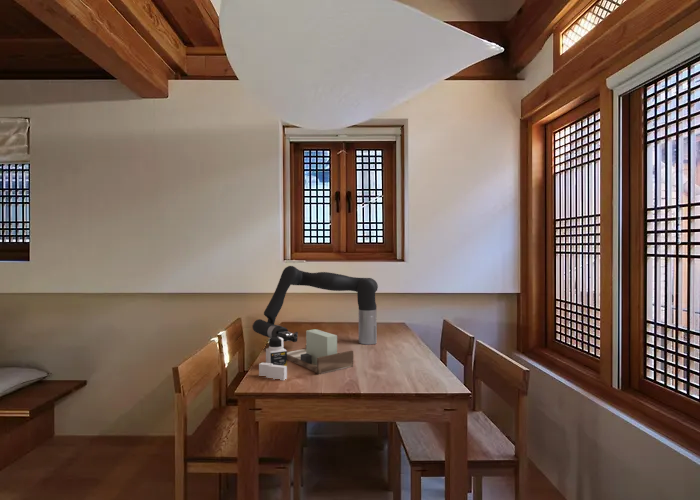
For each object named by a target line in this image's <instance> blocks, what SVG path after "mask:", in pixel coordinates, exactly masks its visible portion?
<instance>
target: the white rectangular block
mask: <svg viewBox="0 0 700 500" xmlns="http://www.w3.org/2000/svg"><path fill="white" fill-rule="evenodd" d="M259 376H266V377H265V378H267V379H268V378H273V379H272V380H275V379H280V380H279V381H286V380H287V379H288V365H287V366H282V365H273V364H272V363H266V362H261V363H260V362H259V364H258V377H259ZM285 379H286V380H285Z"/></svg>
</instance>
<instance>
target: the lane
mask: <svg viewBox="0 0 700 500" xmlns="http://www.w3.org/2000/svg"><path fill="white" fill-rule="evenodd" d="M301 354H306V348H302V349H296V350H292V351H287V361H290V362H292V363H294V364H296V365H298V366H301V367H303V368H305V369H308V370H310V371H312V372H314V373H315V374H317V375H318V374H320V375H323V374H328V373H331V372H336V370H337V371H340V370H344V369H345V370H346V369H348V368H349V369H350V368H352V367H353V368H354V350H348V351H344V352H337V354H332V355H328V356H323V357H318V358H317V364H314V363H312V364H309V363H307V362H305V361H302V360H301Z"/></svg>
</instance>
